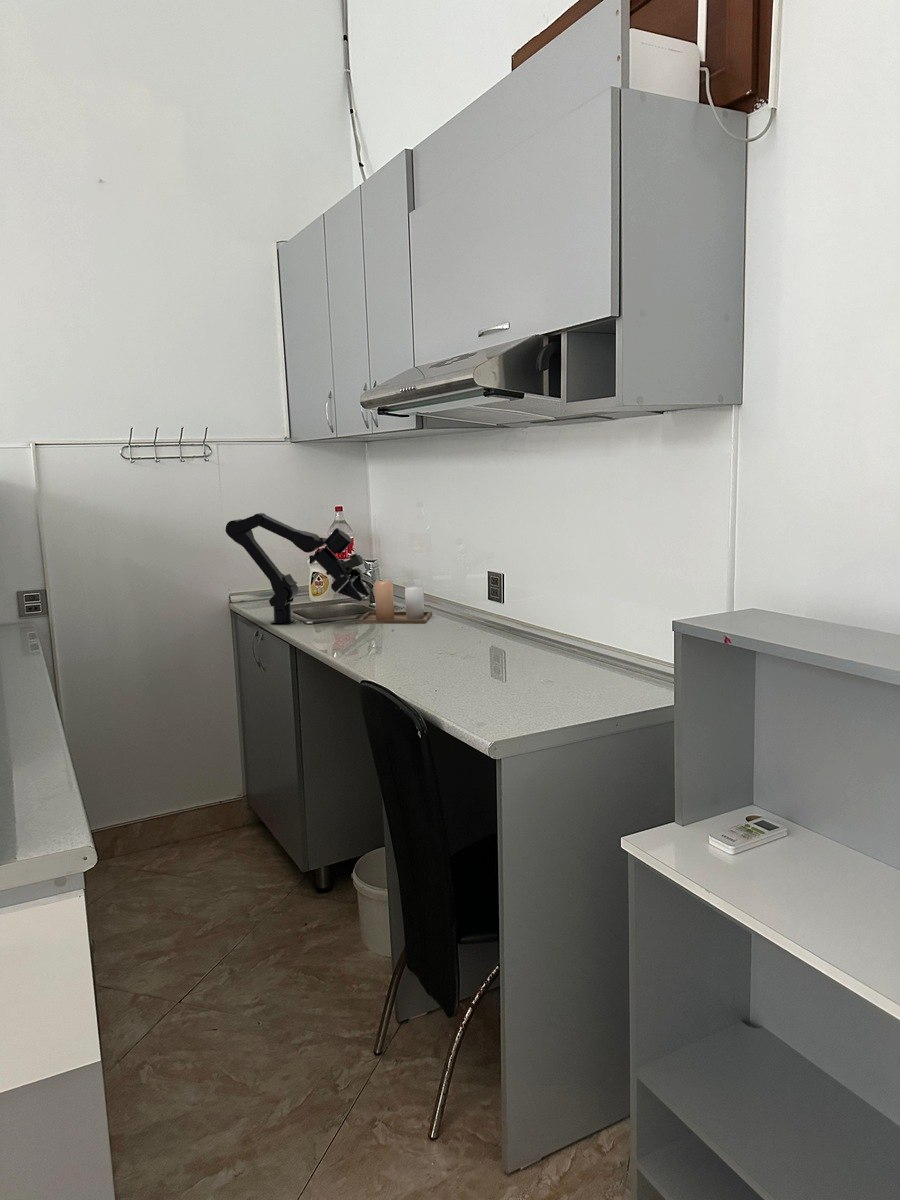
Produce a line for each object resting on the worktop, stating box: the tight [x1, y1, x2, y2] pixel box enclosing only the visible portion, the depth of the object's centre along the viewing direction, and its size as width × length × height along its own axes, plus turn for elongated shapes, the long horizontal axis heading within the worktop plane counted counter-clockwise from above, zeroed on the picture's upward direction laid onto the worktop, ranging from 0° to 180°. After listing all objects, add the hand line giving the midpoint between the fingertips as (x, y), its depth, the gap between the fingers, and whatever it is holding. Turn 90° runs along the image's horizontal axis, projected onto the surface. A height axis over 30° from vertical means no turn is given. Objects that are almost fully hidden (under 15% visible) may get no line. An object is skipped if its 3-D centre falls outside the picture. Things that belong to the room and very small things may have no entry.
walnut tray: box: [356, 611, 433, 625], centre depth 287 cm, size 16×22×2 cm
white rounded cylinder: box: [404, 585, 425, 619], centre depth 288 cm, size 6×6×10 cm
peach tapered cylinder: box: [374, 580, 395, 620], centre depth 284 cm, size 6×6×12 cm
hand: (365, 597), depth 285 cm, fingers open, 9 cm apart
